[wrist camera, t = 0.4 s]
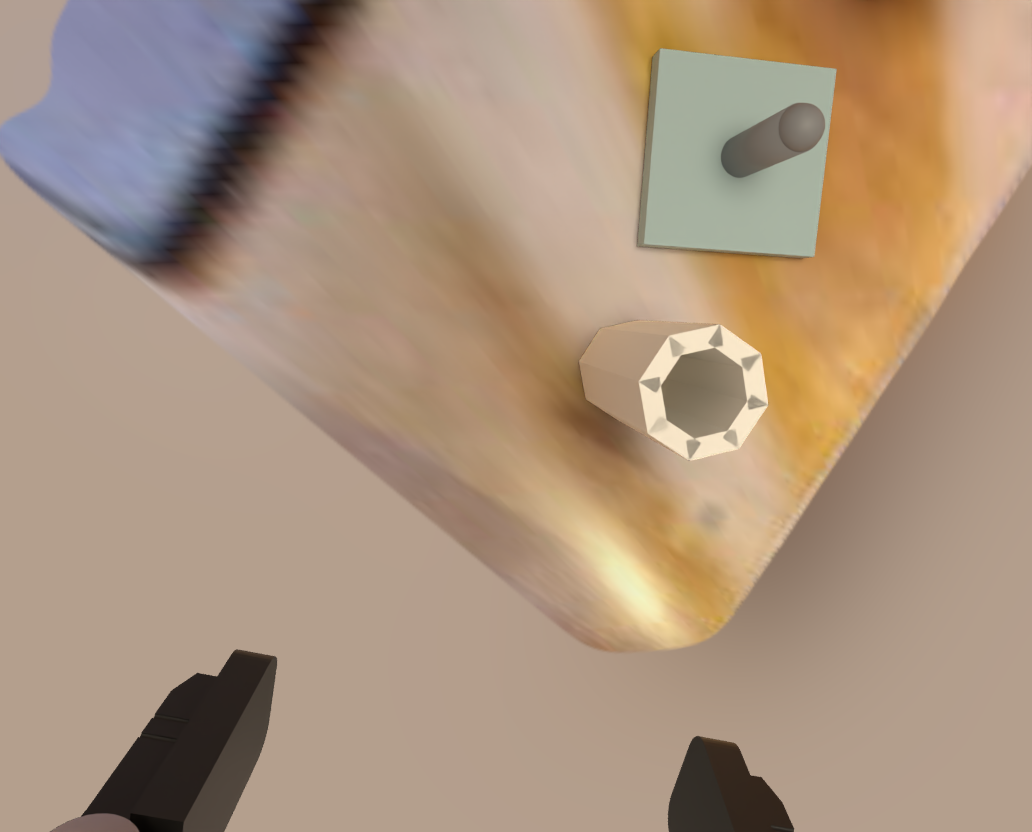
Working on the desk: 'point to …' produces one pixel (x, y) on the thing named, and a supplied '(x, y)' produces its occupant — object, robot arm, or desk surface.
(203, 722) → the robot arm
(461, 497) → the desk surface
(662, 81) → the peg stand
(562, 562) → the desk surface
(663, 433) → the white octagonal tube
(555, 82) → the desk surface
